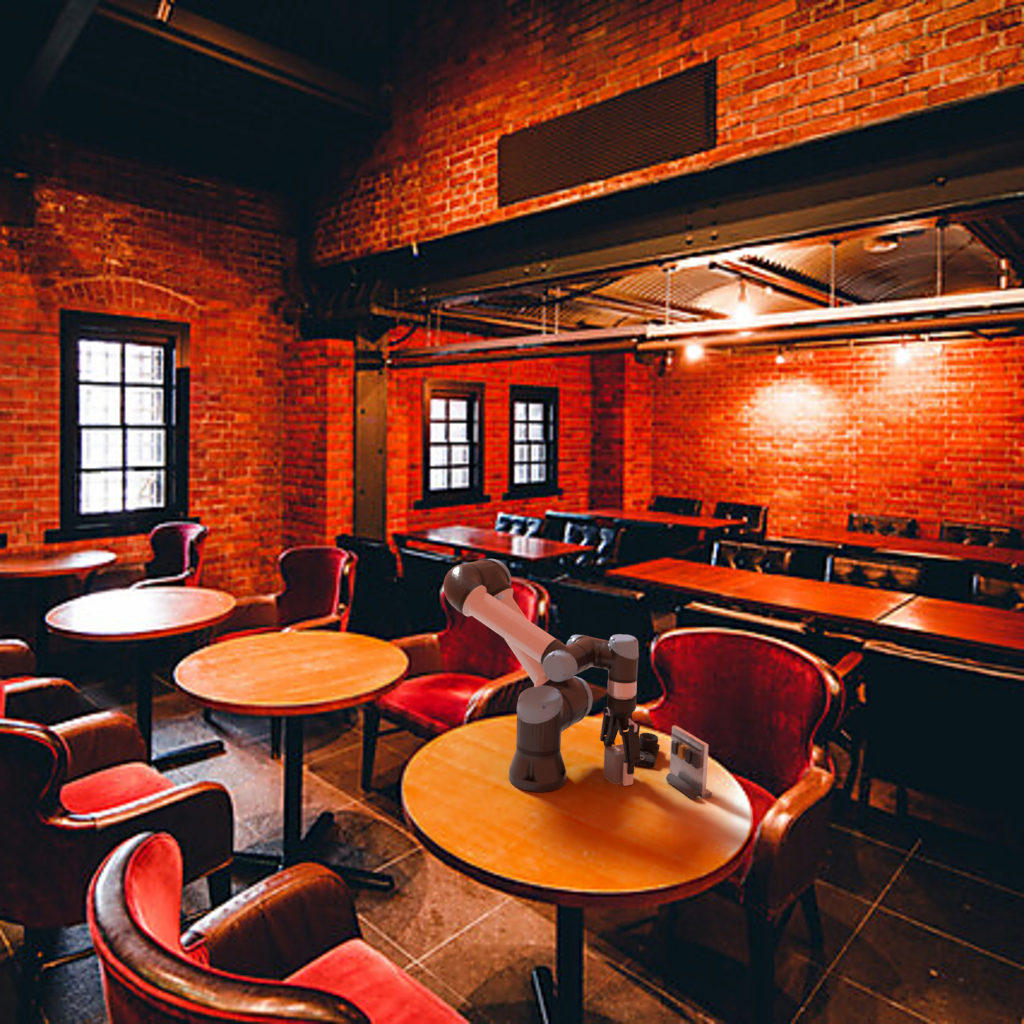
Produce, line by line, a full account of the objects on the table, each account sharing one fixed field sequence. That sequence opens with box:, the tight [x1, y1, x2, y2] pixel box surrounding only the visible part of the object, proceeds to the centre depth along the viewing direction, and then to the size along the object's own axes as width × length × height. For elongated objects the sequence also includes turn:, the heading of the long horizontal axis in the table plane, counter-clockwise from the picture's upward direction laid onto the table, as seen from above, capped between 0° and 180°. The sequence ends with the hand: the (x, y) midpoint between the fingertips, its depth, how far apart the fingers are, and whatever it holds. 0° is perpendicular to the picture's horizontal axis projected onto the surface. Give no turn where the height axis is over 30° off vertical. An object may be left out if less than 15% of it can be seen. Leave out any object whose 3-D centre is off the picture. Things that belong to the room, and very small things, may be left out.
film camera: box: [634, 732, 661, 769], centre depth 207 cm, size 13×8×10 cm
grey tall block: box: [602, 743, 626, 785], centre depth 194 cm, size 7×5×9 cm
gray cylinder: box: [665, 772, 699, 800], centre depth 188 cm, size 10×2×2 cm, turn 26°
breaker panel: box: [669, 725, 713, 799], centre depth 190 cm, size 4×13×14 cm, turn 26°
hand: (618, 777), depth 194 cm, fingers open, 8 cm apart
